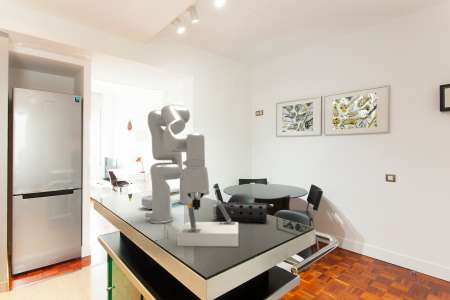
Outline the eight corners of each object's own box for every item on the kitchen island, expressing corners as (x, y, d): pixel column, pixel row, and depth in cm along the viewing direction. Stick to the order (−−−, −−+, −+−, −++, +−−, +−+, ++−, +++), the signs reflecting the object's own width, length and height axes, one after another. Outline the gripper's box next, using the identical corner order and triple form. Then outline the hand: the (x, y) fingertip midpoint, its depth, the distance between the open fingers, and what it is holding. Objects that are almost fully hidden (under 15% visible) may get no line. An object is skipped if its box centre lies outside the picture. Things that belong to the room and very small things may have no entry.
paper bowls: (159, 211, 155) (159, 199, 155) (137, 210, 158) (137, 198, 158) (168, 206, 170) (168, 195, 170) (148, 205, 173) (148, 194, 173)
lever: (228, 224, 107) (216, 203, 108) (228, 222, 111) (216, 201, 111) (231, 222, 107) (219, 201, 108) (231, 220, 111) (219, 199, 111)
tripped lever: (191, 231, 97) (187, 204, 97) (192, 228, 101) (189, 202, 101) (195, 231, 97) (191, 204, 97) (196, 228, 101) (192, 202, 101)
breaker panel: (177, 245, 96) (177, 232, 96) (186, 232, 112) (186, 221, 112) (238, 246, 95) (238, 233, 95) (238, 233, 111) (238, 221, 111)
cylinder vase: (177, 204, 176) (177, 169, 176) (183, 201, 188) (183, 168, 188) (194, 205, 174) (193, 169, 174) (199, 201, 186) (198, 168, 186)
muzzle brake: (266, 225, 123) (266, 204, 123) (212, 222, 129) (212, 203, 129) (266, 220, 133) (266, 201, 133) (216, 218, 138) (216, 199, 138)
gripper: (175, 164, 96) (175, 211, 95) (213, 164, 95) (213, 211, 95) (179, 164, 103) (180, 207, 103) (214, 163, 103) (215, 207, 102)
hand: (196, 209), depth 99 cm, fingers closed
